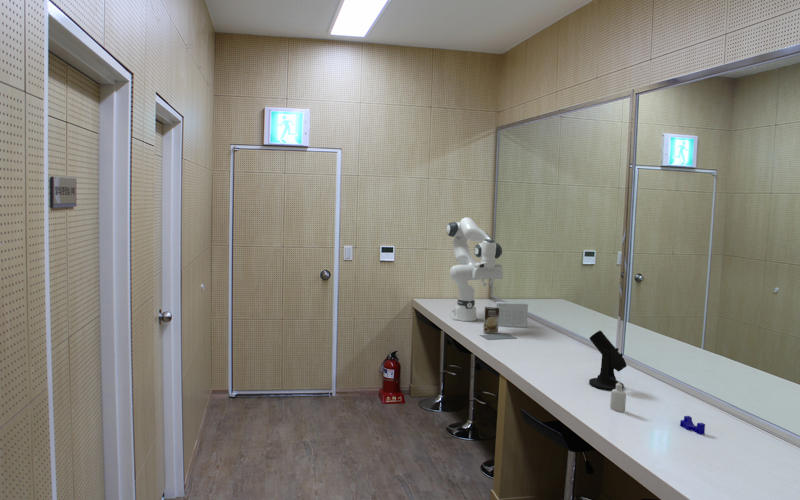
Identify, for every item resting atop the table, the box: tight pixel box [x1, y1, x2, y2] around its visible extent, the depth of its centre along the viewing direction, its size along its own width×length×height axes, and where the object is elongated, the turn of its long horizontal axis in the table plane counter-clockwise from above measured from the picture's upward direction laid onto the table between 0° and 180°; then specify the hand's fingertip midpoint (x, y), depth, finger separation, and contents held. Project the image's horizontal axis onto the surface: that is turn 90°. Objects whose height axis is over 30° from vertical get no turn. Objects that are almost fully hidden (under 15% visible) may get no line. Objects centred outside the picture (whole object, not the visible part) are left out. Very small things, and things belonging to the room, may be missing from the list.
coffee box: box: [482, 306, 499, 335], centre depth 344 cm, size 9×6×16 cm
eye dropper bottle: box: [609, 380, 627, 413], centre depth 218 cm, size 4×6×12 cm
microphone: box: [588, 330, 628, 392], centre depth 247 cm, size 15×17×25 cm
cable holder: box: [679, 415, 706, 436], centre depth 200 cm, size 8×4×4 cm, turn 13°
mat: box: [479, 333, 518, 341], centre depth 334 cm, size 11×20×1 cm, turn 107°
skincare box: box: [495, 301, 529, 328], centre depth 365 cm, size 21×6×16 cm, turn 84°
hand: (487, 285), depth 349 cm, fingers open, 3 cm apart
